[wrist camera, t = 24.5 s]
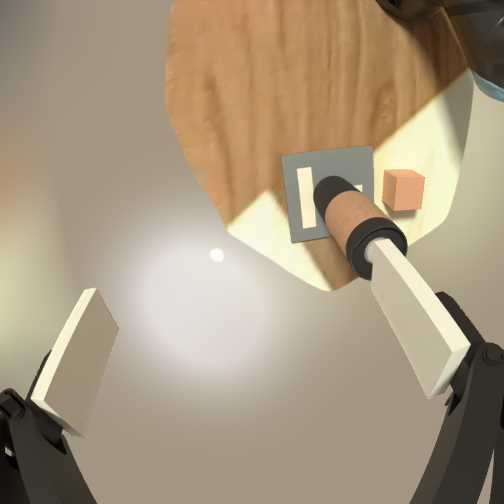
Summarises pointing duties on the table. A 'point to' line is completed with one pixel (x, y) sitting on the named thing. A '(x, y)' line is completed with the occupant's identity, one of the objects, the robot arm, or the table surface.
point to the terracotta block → (403, 189)
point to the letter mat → (311, 173)
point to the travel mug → (355, 223)
